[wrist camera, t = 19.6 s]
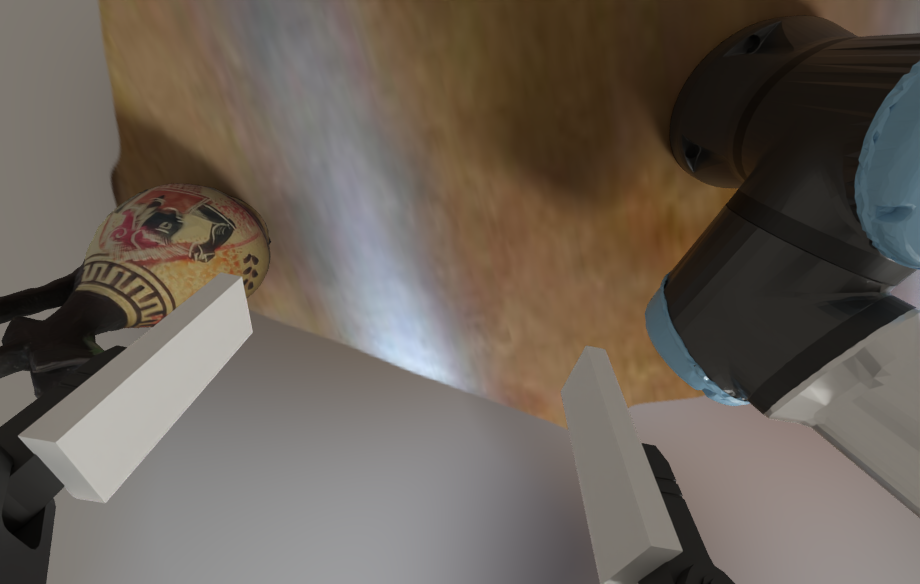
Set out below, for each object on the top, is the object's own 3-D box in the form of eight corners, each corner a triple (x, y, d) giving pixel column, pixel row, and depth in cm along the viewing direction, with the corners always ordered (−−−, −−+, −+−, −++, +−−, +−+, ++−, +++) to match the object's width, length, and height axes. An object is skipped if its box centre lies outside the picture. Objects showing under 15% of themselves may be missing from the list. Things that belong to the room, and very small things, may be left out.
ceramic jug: (299, 197, 45) (71, 367, 21) (284, 286, 54) (108, 483, 29) (161, 139, 43) (-295, 256, 18) (167, 243, 51) (-137, 420, 26)
